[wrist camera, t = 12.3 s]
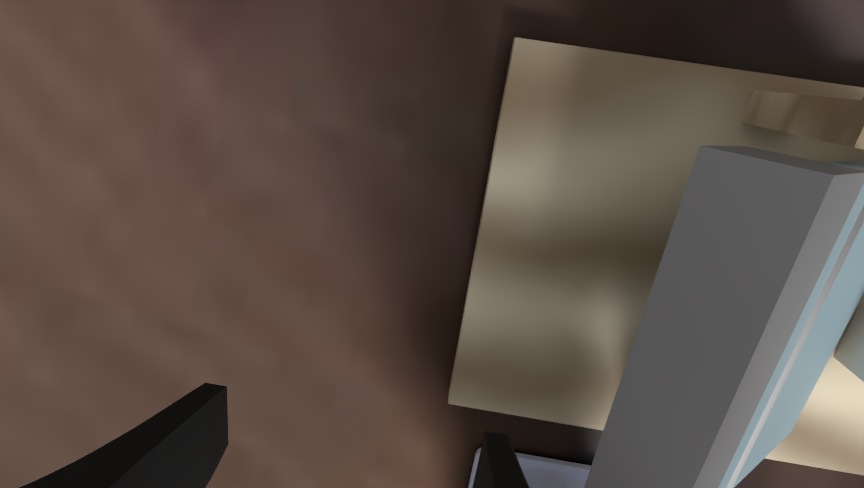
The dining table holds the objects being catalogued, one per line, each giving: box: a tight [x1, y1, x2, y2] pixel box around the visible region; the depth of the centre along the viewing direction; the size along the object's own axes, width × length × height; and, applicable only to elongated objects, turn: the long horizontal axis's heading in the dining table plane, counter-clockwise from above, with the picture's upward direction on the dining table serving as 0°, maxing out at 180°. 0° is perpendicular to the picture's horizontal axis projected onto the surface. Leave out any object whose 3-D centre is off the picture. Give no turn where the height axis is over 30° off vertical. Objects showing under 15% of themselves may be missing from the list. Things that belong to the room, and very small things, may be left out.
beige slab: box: [448, 37, 864, 475], centre depth 18 cm, size 17×22×7 cm
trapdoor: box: [584, 146, 864, 488], centre depth 17 cm, size 12×12×3 cm
